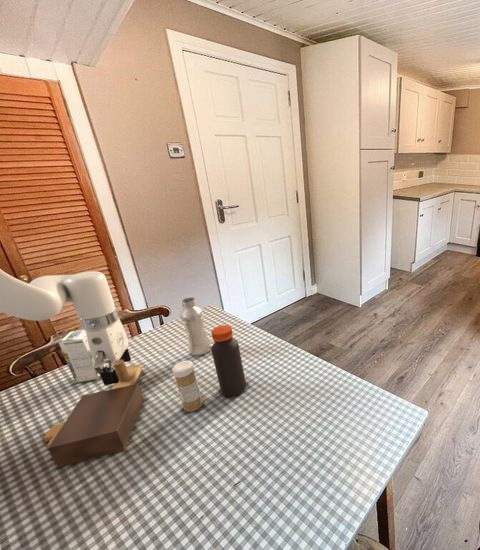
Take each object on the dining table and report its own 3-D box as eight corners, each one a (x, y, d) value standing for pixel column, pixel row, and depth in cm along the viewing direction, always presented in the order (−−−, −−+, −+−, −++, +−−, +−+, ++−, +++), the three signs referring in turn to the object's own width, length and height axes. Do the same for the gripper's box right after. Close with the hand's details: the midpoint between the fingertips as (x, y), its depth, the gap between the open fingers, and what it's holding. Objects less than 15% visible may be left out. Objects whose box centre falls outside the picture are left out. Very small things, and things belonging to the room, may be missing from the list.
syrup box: (85, 371, 95) (68, 331, 89) (107, 367, 96) (92, 328, 91) (75, 383, 90) (56, 342, 84) (99, 379, 91) (82, 338, 86)
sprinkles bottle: (186, 401, 83) (175, 361, 78) (205, 398, 84) (194, 358, 79) (181, 414, 79) (169, 372, 74) (200, 411, 80) (189, 369, 75)
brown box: (52, 469, 65) (41, 449, 63) (86, 414, 79) (77, 396, 77) (124, 450, 69) (116, 431, 67) (144, 400, 83) (138, 383, 81)
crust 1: (64, 433, 72) (66, 437, 73) (73, 420, 76) (75, 424, 76) (43, 438, 71) (45, 442, 71) (53, 425, 74) (55, 428, 75)
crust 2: (60, 456, 68) (53, 458, 67) (69, 442, 71) (62, 443, 71) (53, 444, 66) (46, 445, 66) (62, 429, 70) (56, 431, 69)
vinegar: (215, 395, 85) (201, 334, 78) (231, 379, 91) (219, 321, 84) (236, 399, 84) (224, 338, 76) (251, 383, 90) (240, 324, 82)
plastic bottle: (216, 347, 106) (204, 296, 98) (201, 359, 100) (188, 306, 92) (200, 345, 108) (188, 294, 100) (185, 356, 101) (171, 303, 94)
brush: (128, 403, 82) (117, 375, 79) (110, 407, 81) (98, 379, 78) (143, 373, 94) (134, 347, 90) (128, 375, 93) (118, 350, 89)
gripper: (104, 333, 72) (124, 389, 79) (128, 302, 87) (143, 351, 94) (64, 339, 70) (88, 396, 76) (96, 306, 85) (114, 357, 91)
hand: (118, 372), depth 85 cm, fingers open, 9 cm apart
